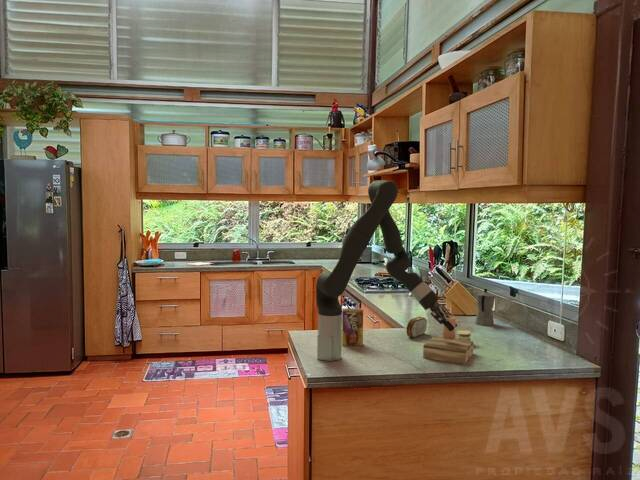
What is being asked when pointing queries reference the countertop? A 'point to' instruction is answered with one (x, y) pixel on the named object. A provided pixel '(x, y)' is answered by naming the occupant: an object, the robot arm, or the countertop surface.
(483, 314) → the coffeepot
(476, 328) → the countertop surface
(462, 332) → the stacked layers on plate
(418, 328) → the tin
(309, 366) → the countertop surface
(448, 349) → the plinth
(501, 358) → the countertop surface
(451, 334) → the peach domed capsule
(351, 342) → the candy box
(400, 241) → the robot arm
